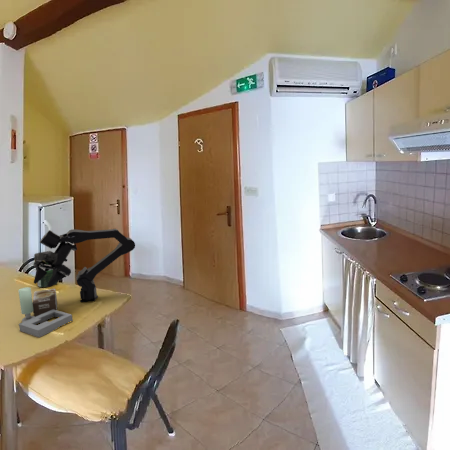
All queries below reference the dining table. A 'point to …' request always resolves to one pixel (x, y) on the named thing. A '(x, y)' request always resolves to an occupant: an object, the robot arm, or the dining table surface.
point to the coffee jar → (47, 277)
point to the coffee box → (44, 301)
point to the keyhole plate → (45, 323)
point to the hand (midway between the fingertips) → (41, 285)
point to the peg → (26, 303)
